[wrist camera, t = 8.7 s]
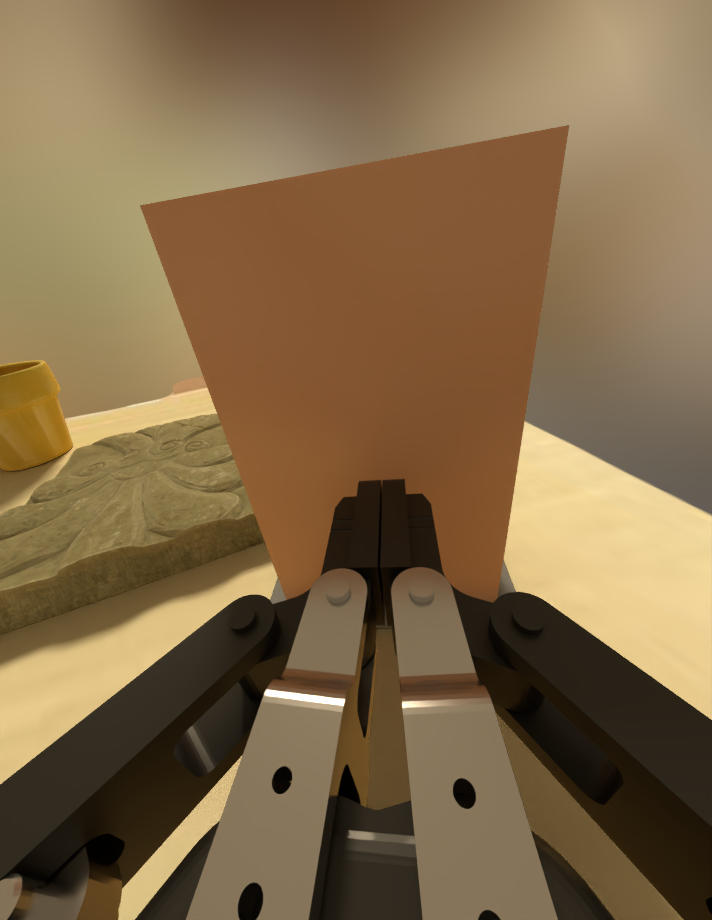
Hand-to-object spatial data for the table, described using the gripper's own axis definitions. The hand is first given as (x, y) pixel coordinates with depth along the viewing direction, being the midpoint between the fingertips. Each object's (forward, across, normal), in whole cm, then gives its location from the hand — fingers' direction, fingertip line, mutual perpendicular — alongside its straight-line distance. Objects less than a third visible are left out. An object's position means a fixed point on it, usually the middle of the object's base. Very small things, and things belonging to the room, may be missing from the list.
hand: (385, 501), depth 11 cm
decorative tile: (+12, -20, -8) cm, 24 cm away
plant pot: (+21, -41, -8) cm, 46 cm away
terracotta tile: (+3, 0, -7) cm, 8 cm away
